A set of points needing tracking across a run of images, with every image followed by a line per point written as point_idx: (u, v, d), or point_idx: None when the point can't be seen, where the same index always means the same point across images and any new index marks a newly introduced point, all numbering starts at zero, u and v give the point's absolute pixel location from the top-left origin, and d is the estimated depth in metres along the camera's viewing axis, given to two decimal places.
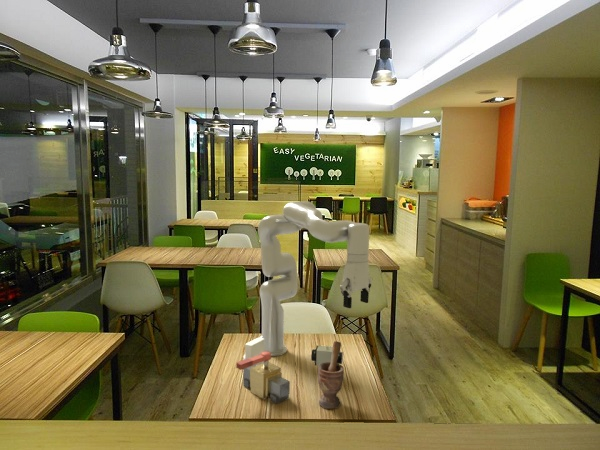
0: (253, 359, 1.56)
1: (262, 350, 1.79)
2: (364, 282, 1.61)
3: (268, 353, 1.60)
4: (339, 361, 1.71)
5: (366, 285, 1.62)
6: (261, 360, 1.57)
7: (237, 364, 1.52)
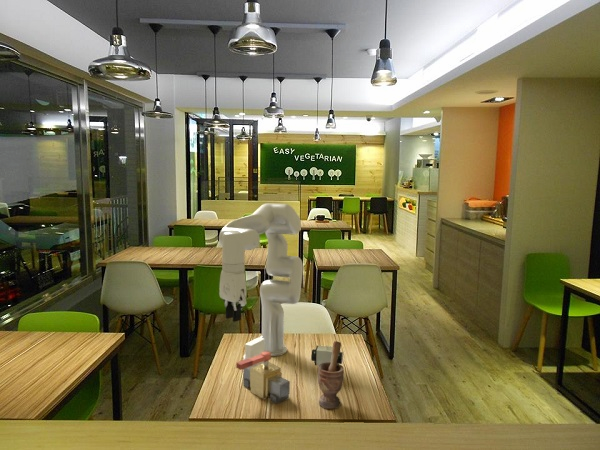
0: (253, 359, 1.56)
1: (262, 350, 1.79)
2: None
3: (268, 353, 1.60)
4: (339, 361, 1.71)
5: None
6: (261, 360, 1.57)
7: (237, 364, 1.52)
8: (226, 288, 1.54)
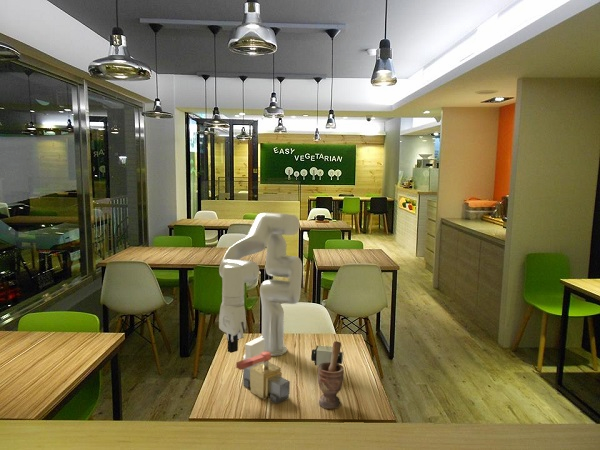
0: (253, 359, 1.56)
1: (262, 350, 1.79)
2: None
3: (268, 353, 1.60)
4: (339, 361, 1.71)
5: None
6: (261, 360, 1.57)
7: (237, 364, 1.52)
8: (225, 321, 1.55)
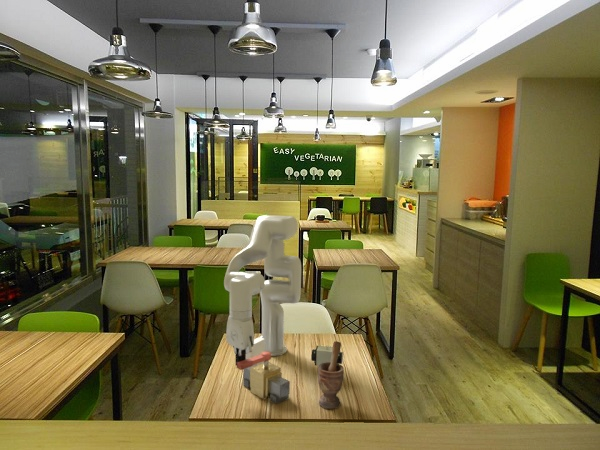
0: (253, 359, 1.55)
1: (262, 350, 1.79)
2: None
3: (268, 353, 1.60)
4: (339, 361, 1.71)
5: None
6: (261, 360, 1.57)
7: (237, 364, 1.52)
8: (233, 335, 1.53)
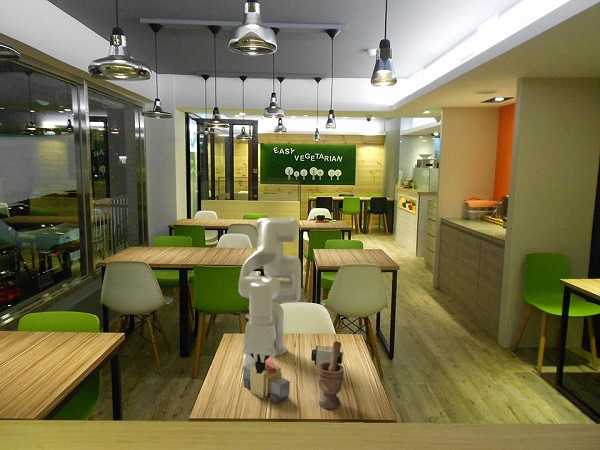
0: (270, 361, 1.54)
1: None
2: None
3: None
4: (339, 361, 1.71)
5: None
6: None
7: (270, 370, 1.48)
8: (256, 342, 1.48)
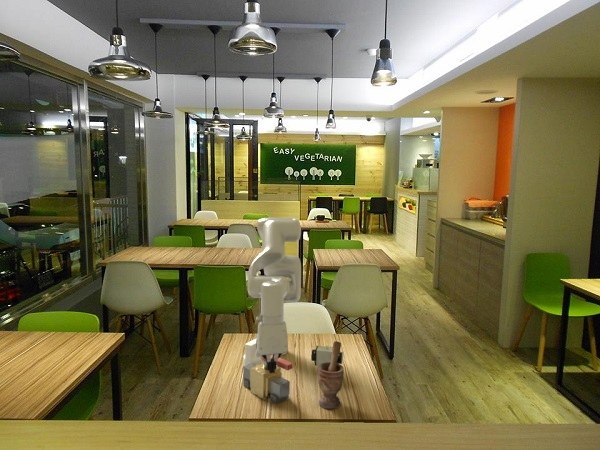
0: (278, 359, 1.56)
1: None
2: None
3: None
4: (339, 361, 1.71)
5: None
6: None
7: (288, 366, 1.52)
8: (273, 342, 1.48)
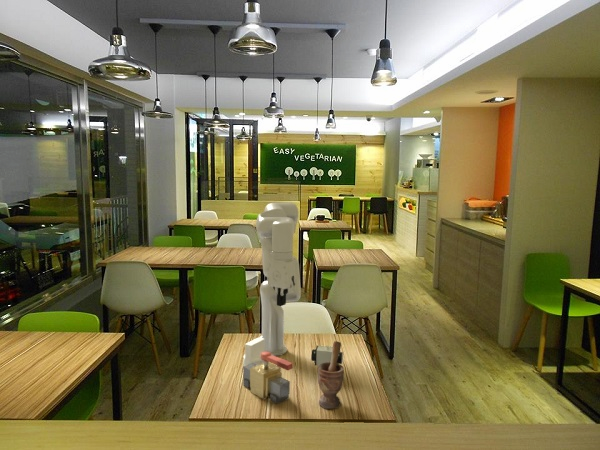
0: (278, 359, 1.56)
1: (262, 350, 1.79)
2: None
3: (265, 352, 1.61)
4: (339, 361, 1.71)
5: None
6: None
7: (288, 366, 1.52)
8: (276, 275, 1.60)
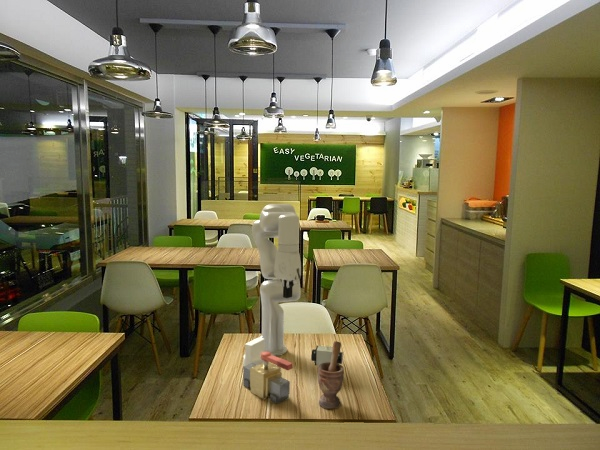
0: (278, 359, 1.56)
1: (262, 350, 1.79)
2: None
3: (265, 352, 1.61)
4: (339, 361, 1.71)
5: None
6: None
7: (288, 366, 1.52)
8: (282, 268, 1.64)
